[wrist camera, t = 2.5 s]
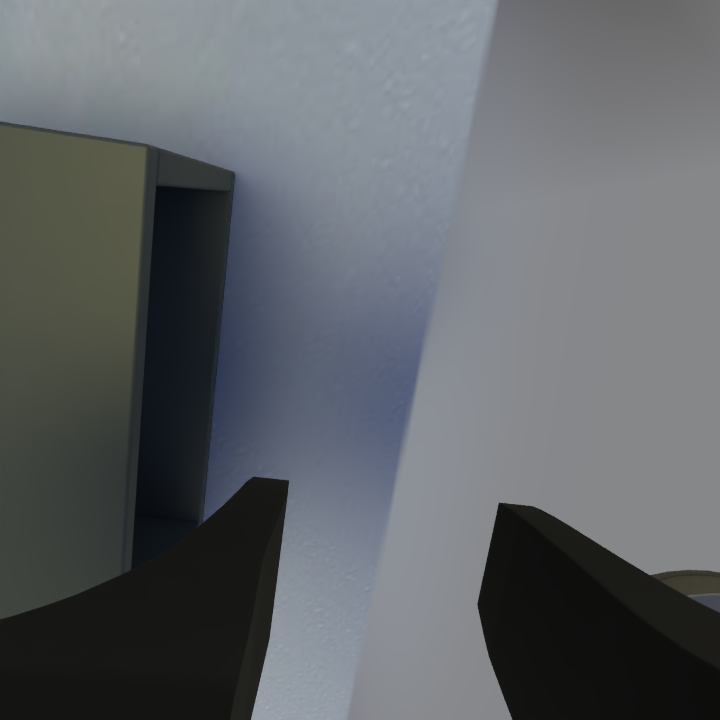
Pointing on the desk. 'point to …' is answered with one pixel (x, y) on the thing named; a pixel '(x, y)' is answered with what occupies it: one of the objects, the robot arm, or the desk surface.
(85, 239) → the dark grey storage bin
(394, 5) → the desk surface
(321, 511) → the desk surface
